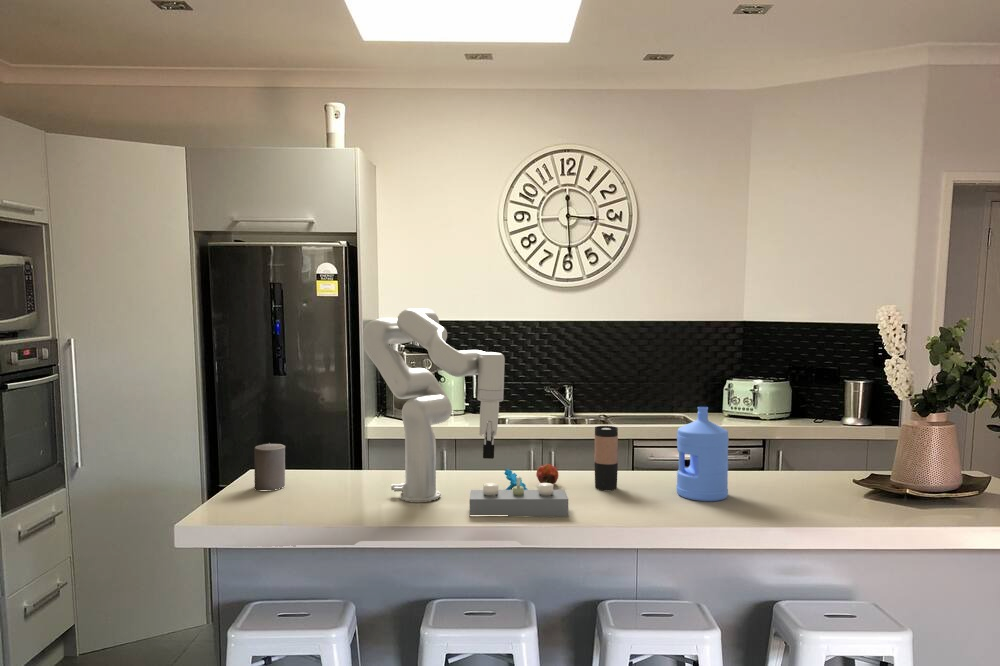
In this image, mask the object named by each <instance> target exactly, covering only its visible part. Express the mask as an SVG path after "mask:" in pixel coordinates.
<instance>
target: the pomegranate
mask: <svg viewBox="0 0 1000 666" xmlns="http://www.w3.org/2000/svg"><path fill="white" fill-rule="evenodd" d="M535 476H536V478H537V480H538V482H539V484H540V483H551V484H553V485H555V484H556V483H557V481H558V479H559V470H558V468H557V467H556V466H554V465H553V464H551V463H545V464H543V465H540V466H538V468H537V470H536V475H535Z"/></svg>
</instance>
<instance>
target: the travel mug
mask: <svg viewBox="0 0 1000 666" xmlns="http://www.w3.org/2000/svg"><path fill="white" fill-rule="evenodd" d="M618 431H619V429H618V426H612V425H598V426H595V427H594V457H593V458H594V459H593V460H594V462H593V463H594V464H593V465H594V488H595V489H596V490H598V489H599V491H604V490H611V491H615V490H617V489H616V488H618V471H619V470H618V468H619V467H618V465H619V460H618V459H619V456H618V455H619V448H618V447H619V441H618V439H619V437H618V436H619V434H618ZM614 489H615V490H614Z"/></svg>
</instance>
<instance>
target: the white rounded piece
mask: <svg viewBox="0 0 1000 666" xmlns="http://www.w3.org/2000/svg"><path fill="white" fill-rule="evenodd" d="M537 487H538V488H537V490H538V493H539V494H541V496H551V494H553V490H554V484H551V483H540V482H539V483H538V486H537Z"/></svg>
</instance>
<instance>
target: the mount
mask: <svg viewBox="0 0 1000 666" xmlns="http://www.w3.org/2000/svg"><path fill="white" fill-rule="evenodd" d="M469 492H470V493H469V516H470V515H508V516H534V517H535V518H536V517H537V518H541V517H542V518H543V517H546V518H547V517H548V518H550V517H555V518H556V517H558V518H562V517H566V518H567V517H569V497H568V495H567V492H566V490H565V489H553V494H551V496H541V494H539V493H538V489H528V490H524V495H522V496H515V495H513V489H510V490H505V489H498V494H496V496H486V495H485V494H483V489H470V491H469ZM534 517H533V518H534Z"/></svg>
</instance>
